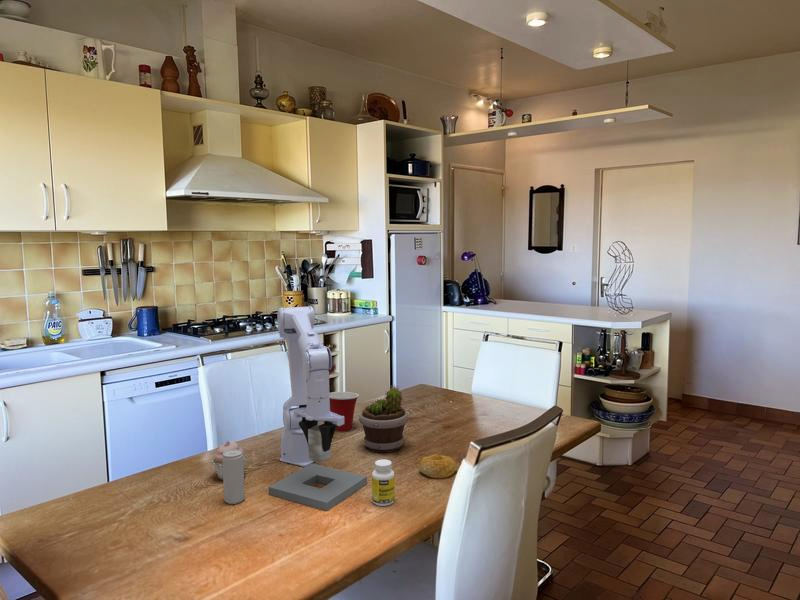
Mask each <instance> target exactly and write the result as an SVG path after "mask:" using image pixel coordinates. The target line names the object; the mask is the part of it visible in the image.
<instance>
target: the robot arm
mask: <svg viewBox="0 0 800 600" xmlns="http://www.w3.org/2000/svg"><path fill="white" fill-rule="evenodd" d="M315 314H316V313H315V309H314V308H313V306H312V305H308V306H294V307H279V308H278V310H277V317H276V318H277V328H278V335H279V338H281V339H284V340H285V343H286V348H287V355H288V356H287V357H288V366H289V368H288V369H289V376H290V377H289V378H290V389H291V396H290V397H289V398H288V399H287V400H286V401H284V403H283V406H282V422H283V427H284V430H283V431H282V433H281V437H280V450H281V451H280V454H281V455H280V458H279V461H280V462H282V463H283V462H284V463H286V464H287V463H288V464H290V465H291V464H292V465H295V466H300V467H302V468H304V467H306V466H308V465H310V464H312V463H313V464H314V462H315V461H311V460H309V446H308V429H310V428H312V427H314V426H316V425H319V429H320V432H321V437H322V448H323V451H324V452H326V451H328V450H330V447H331V448H332V442H333V438H334V436H335V433H336V429H337V427H338V426H341V425H343V424H344V416H340V415H338V414H335V413H333V412H330V397H329V393H330V371H331V369H332V365H333V359H332V358H333V357H332V352H331V349H330V347H329V346H325V345H324V344H323V342H322V339H321V338H320V335H319V333H317V332H315V331H314V330H313V329H314V325H315V322H316V315H315ZM299 406H300V407H299ZM321 422H322V424H321Z"/></svg>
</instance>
